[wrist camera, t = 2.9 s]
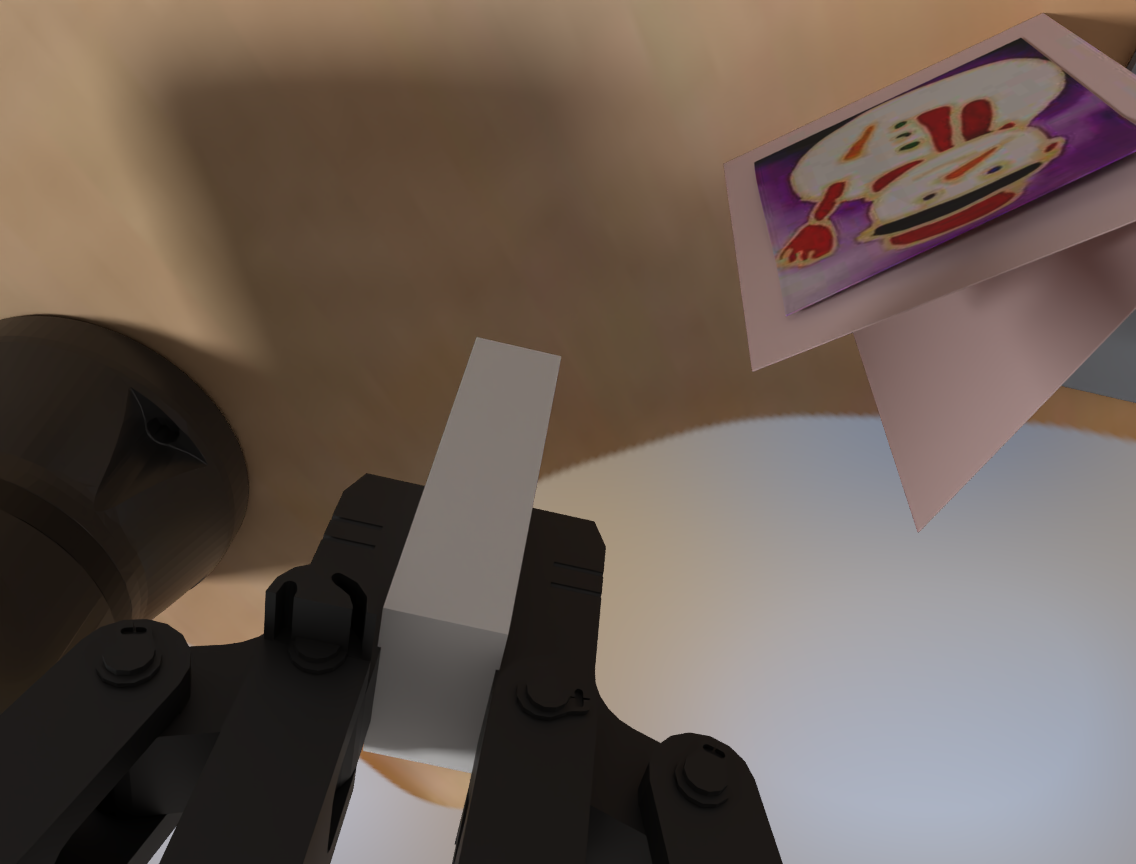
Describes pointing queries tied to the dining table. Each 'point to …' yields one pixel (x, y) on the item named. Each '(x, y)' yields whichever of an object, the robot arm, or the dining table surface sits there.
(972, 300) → the greeting card
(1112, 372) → the mat
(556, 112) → the dining table surface
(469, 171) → the dining table surface
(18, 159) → the dining table surface
